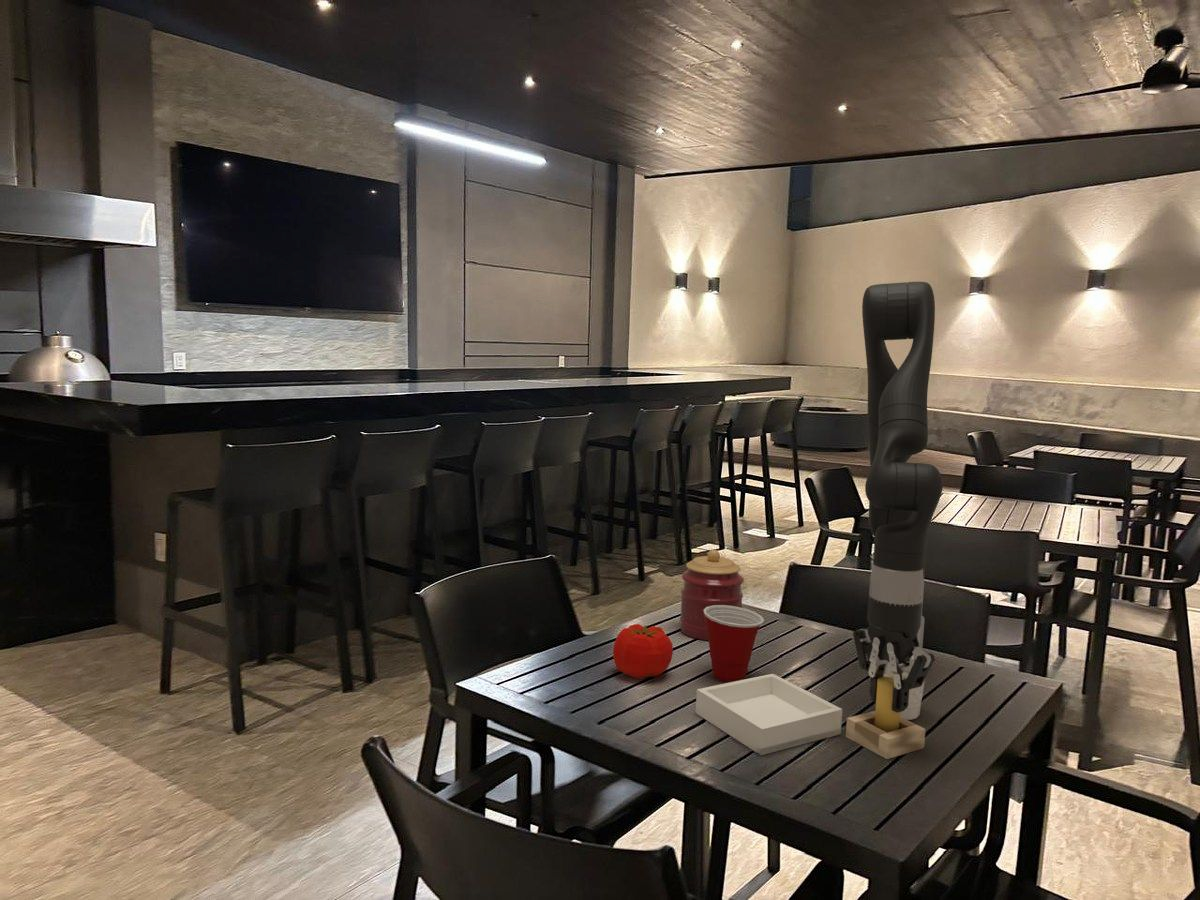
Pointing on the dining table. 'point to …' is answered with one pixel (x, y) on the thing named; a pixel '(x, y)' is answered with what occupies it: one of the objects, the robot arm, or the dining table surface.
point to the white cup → (910, 698)
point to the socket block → (885, 736)
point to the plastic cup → (731, 640)
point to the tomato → (642, 651)
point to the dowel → (885, 706)
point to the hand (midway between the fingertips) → (887, 705)
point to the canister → (708, 591)
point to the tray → (768, 713)
